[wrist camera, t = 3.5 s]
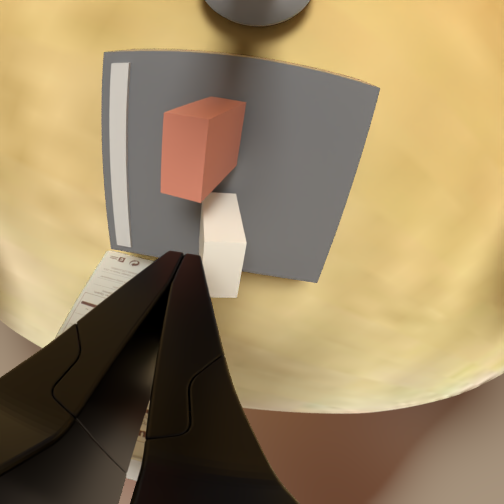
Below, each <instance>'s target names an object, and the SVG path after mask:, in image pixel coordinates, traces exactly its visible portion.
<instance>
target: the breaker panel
mask: <svg viewBox="0 0 504 504" xmlns="http://www.w3.org/2000/svg"><path fill="white" fill-rule="evenodd" d="M379 91H380V88H378V87H376V86H374V85H371V84H369V83H367V82H364V81H362V80H359V79H355V78H352V77H348V76H345V75H341V74H337V73H333V72H330V71H326V70H321V69H317V68H313V67H308V66H304V65H299V64H294V63H289V62H284V61H279V60H273V59H267V58H261V57H254V56H247V55H239V54H231V53H221V52H210V51H197V50H178V49H130V50H119V51H111V52H104V58H103V76H102V155H103V174H104V188H105V199H106V210H107V219H108V228H109V236H110V244H111V249H115V250H121V251H126V252H132V253H137V254H143V255H149V256H154V257H161V256H162V255H163V254H165V253H166V252H168V251H177V252H183V253H184V255H185V254H187V253H189V254H195V255H199V233H200V220H201V207H202V202H201V203H199V202H195V201H191V200H187V199H184V198H180V197H176V196H172V195H168V194H164V193H161V157H162V135H163V117H164V112H167V111H169V110H172V109H175V108H178V107H181V106H183V105H186V104H189V103H192V102H195V101H198V100H201V99H204V98H207V97H211V96H212V97H219V98H225V99H231V100H237V101H242V102H246V108H245V114H244V121H243V127H242V133H241V140H240V146H239V153H238V160H237V166H236V167H235V168H234V169H233V170H232V171H231V172H230V173H229V174H228V175H227V176H226V177H225V178H224V179H223V180H222V181H221V182H220V183H219V184H218V185H217V186H216V187H215V188H214V189H213V191H212V192H216V193H233V194H236V196H237V201H238V206H239V210H240V215H241V219H242V224H243V229H244V233H245V238H246V242H247V244H246V250H245V255H244V261H243V267H242V271H243V272H250V273H256V274H262V275H269V276H275V277H281V278H288V279H294V280H301V281H307V282H314V283H317V282H318V279H319V277H320V274H321V271H322V269H323V266H324V263H325V261H326V258H327V255H328V253H329V250H330V247H331V244H332V242H333V239H334V236H335V233H336V230H337V228H338V225H339V222H340V219H341V216H342V213H343V210H344V207H345V204H346V201H347V198H348V195H349V192H350V189H351V186H352V183H353V180H354V177H355V174H356V171H357V167H358V164H359V161H360V158H361V155H362V151H363V148H364V145H365V141H366V138H367V134H368V131H369V127H370V124H371V120H372V117H373V113H374V110H375V106H376V102H377V98H378V95H379Z"/></svg>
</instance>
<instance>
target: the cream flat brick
mask: <svg viewBox="0 0 504 504" xmlns="http://www.w3.org/2000/svg"><path fill="white" fill-rule="evenodd" d="M246 244H247V242H246V238H245V233H244V229H243V224H242V219H241V215H240V210H239V206H238V201H237V196H236V194H233V193H216V192H211V193H210V194H209V195H208V196H207V197H206V198H205V199H204V200H203V201H202V207H201V220H200V233H199V255H200V256H201V258H202V263H203V267H204V272H205V276H206V281H207V285H208V289H209V294H210V297H216V298H237V295H238V289H239V283H240V278H241V272H242V267H243V261H244V255H245V250H246Z"/></svg>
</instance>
